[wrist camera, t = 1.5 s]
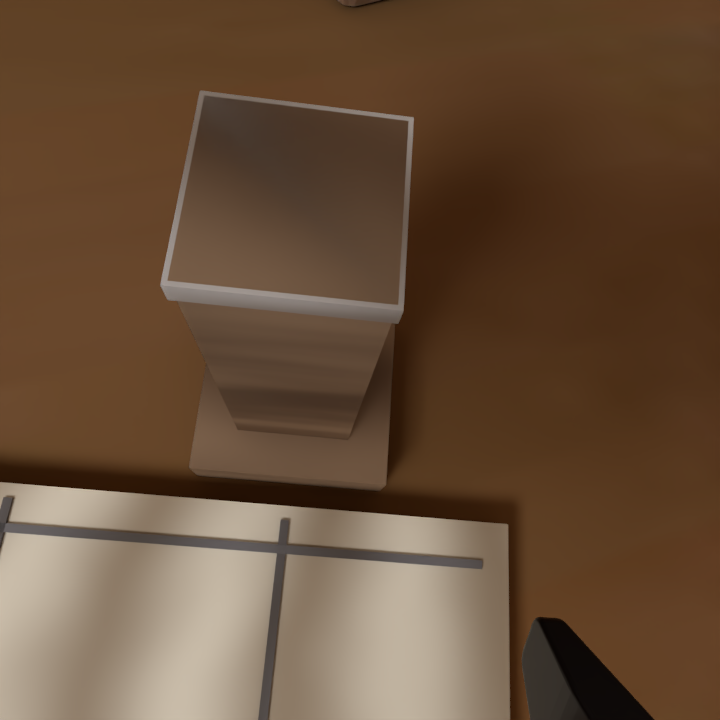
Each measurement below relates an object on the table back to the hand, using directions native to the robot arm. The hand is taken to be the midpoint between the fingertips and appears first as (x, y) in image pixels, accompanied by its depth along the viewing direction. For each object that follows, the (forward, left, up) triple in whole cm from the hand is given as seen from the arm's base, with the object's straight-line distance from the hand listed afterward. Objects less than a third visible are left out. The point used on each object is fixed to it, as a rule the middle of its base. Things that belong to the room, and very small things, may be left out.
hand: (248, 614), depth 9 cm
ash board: (+1, +5, -13) cm, 14 cm away
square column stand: (+7, -3, -13) cm, 15 cm away
